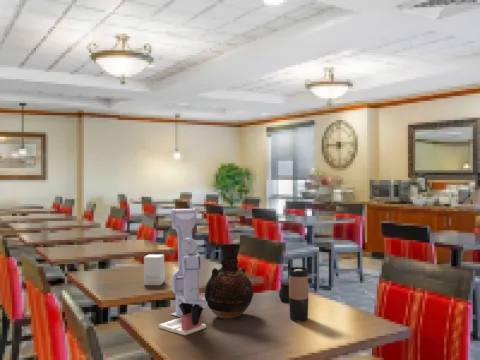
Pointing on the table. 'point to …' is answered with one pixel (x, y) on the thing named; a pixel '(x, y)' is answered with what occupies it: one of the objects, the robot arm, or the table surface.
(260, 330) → the table surface
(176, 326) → the white flat slab
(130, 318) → the table surface
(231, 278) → the ceramic vessel
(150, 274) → the supplement box
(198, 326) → the stub
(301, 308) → the travel mug
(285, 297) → the mate gourd
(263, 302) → the table surface
